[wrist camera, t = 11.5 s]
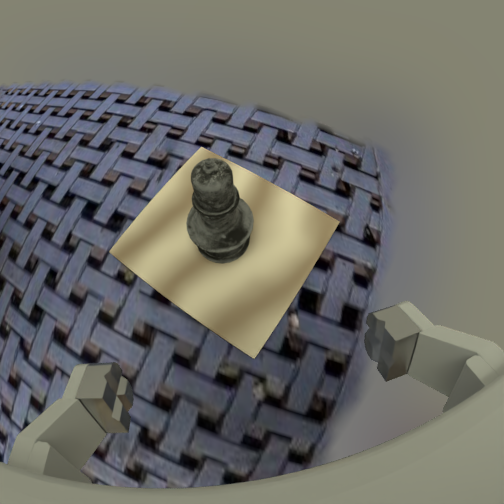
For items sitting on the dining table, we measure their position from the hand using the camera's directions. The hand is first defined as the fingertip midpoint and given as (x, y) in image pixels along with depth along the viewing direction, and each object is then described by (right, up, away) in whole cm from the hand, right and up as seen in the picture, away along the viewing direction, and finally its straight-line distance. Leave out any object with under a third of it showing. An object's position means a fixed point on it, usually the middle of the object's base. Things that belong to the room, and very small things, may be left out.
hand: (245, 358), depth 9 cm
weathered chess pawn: (-3, +5, +20) cm, 21 cm away
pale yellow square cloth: (-3, +4, +21) cm, 22 cm away
